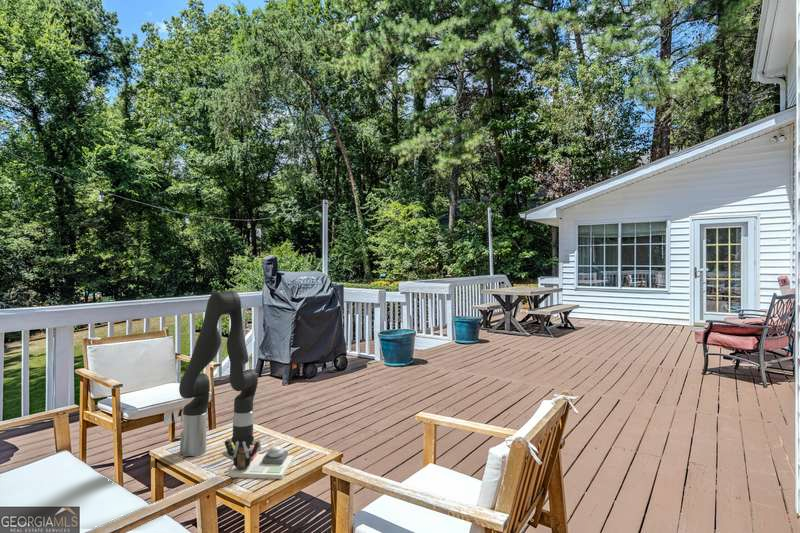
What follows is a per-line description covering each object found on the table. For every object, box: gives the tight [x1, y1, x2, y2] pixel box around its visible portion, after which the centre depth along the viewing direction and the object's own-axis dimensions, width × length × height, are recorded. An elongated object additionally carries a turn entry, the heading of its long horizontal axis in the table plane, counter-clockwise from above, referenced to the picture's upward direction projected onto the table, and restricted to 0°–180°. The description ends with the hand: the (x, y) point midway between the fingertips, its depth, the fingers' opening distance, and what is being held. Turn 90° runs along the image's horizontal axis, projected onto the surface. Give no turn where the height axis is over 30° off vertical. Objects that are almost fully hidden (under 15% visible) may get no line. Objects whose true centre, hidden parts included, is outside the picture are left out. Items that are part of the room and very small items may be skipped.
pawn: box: [237, 447, 247, 470], centre depth 171 cm, size 4×4×9 cm
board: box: [227, 450, 295, 480], centre depth 175 cm, size 21×17×4 cm
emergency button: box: [221, 442, 264, 461], centre depth 190 cm, size 9×4×15 cm
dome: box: [266, 445, 285, 458], centre depth 179 cm, size 6×6×4 cm
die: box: [250, 445, 258, 461], centre depth 180 cm, size 4×4×5 cm
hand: (242, 466), depth 171 cm, fingers closed on pawn, 3 cm apart
